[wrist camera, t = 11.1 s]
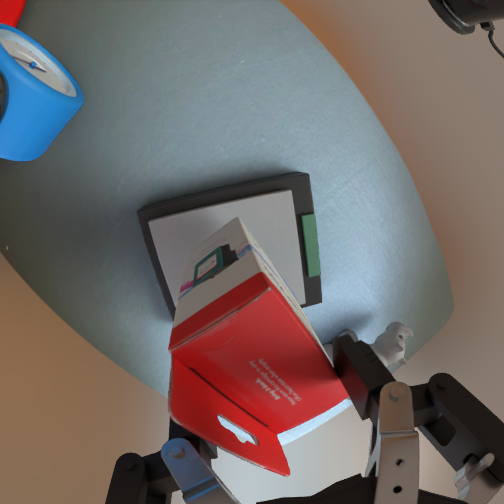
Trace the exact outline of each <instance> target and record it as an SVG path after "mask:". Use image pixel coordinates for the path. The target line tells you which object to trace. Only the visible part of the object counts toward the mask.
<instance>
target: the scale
mask: <svg viewBox="0 0 504 504" xmlns="http://www.w3.org/2000/svg"><path fill="white" fill-rule="evenodd" d="M137 216H138V219H139V223H140V226H141V230H142V233H143V237H144V240H145V243H146V246H147V250H148V253H149V256H150V259H151V262H152V265H153V268H154V271H155V274H156V277H157V280H158V283H159V285H160V288H161V291H162V294H163V296H164V299H165V302H166V305H167V307H168V310H169V312H170V315H171V318H172V320H173V323H174V317H175V312H176V308H177V302H178V297H179V293H180V288H181V282H182V278H183V273H184V269H185V264H186V259H187V255H188V252H189V251H191V250H192V249H193V248H195V247H196V246H197V245H199V244H200V243H201V242H203V241H204V240H205V239H207V238H208V237H209V236H211V235H212V234H213V233H215V232H216V231H217V230H219V229H220V228H221V227H223V226H224V225H225V224H227V223H228V222H230V221H231V220H232V219H234V218H235V217H239V218H240V219H241V220H242V222H243V223H244V224H245V226H246V227H247V228H248V230H249V231H250V233H251V234H252V235H253V237H254V238H255V240H256V241H257V242H258V244H259V245H260V247H261V248H262V249H263V251H264V252H265V254H266V255H267V256H268V258H269V259H270V261H271V262H272V264H273V265H274V267H275V268H276V269H277V271H278V272H279V274H280V275H281V276H282V278H283V279H284V281H285V282H286V284H287V285H288V286H289V288H290V289H291V291H292V292H293V293H294V295H295V297H296V299H297V301H298V303H299V305H300V306H301V308H304V307H308V306H311V305H315V304H318V303H322V292H321V278H320V274H321V271H320V260H319V249H318V239H317V229H316V220H315V214H314V208H313V200H312V193H311V185H310V178H309V174H307V173H303V172H296V173H290V174H284V175H279V176H273V177H268V178H262V179H257V180H252V181H247V182H242V183H237V184H232V185H227V186H223V187H218V188H214V189H209V190H205V191H201V192H196V193H192V194H188V195H184V196H180V197H176V198H172V199H168V200H164V201H160V202H157V203H153V204H149V205H146V206H143V207H142V208H140V209H139V210H138V211H137Z"/></svg>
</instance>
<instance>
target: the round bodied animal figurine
mask: <svg viewBox="0 0 504 504" xmlns="http://www.w3.org/2000/svg"><path fill="white" fill-rule="evenodd" d="M345 334H349V335H350V336H351V337H352V339H353V340H354V341H355V342H357V341H358V338H357V336H356V334H355V333H354V332H353V331H351V330H346V331H343V332H342V333H341V334H340V335H339V336H342V335H345ZM406 335H411V336H412V337H414V335H413V332H412V331H411V330H410V329H408V328H406V327H405V326H404V324H401V323H400V322H393V323H391V324H389V325H388V327H387V328H386V331H385V332H384V333H382V334H381V335H379V336H378V337H377V338H376V340H375V342H374V343H373V344H368V345H370V347H371V348H372V349H373V351H374V352H375V354H376V355H377V356H378V357H379V359H380V360H381V361H382V362H383V364H384V365H385V366H386V368H387V366H388V365H390V364H394V363H396V362H400V363H402V364H407V361H406V360H405V359H404V352H405V344H404V339H406V338H407V336H406ZM339 336H338V337H339ZM323 348H324V350H325V352H326V353H327V355H328V357H329V359H330V360H331V362H332V364H333V345H332V344H325V345H323ZM346 399H348V400H351V399H350V397H347V398H346Z"/></svg>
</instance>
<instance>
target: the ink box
mask: <svg viewBox="0 0 504 504" xmlns="http://www.w3.org/2000/svg"><path fill="white" fill-rule="evenodd" d="M168 350H169V353H170V355H171V359H172V361H171V371H170V381H169V391H168V411H169V414H170V416H171V418H172V420H173V421H174V422H175V423H177V424H178V425H180V426H182V427H184V428H185V429H187V430H189V431H190V432H192V433H194V434H195V435H197V436H199V437H201V438H202V439H204V440H206V441H208V442H210V443H212V444H214V445H215V446H217V447H219V448H220V449H222V450H224V451H226V452H228V453H230V454H232V455H234V456H236V457H238V458H240V459H242V460H245V461H247V462H249V463H251V464H254V465H256V466H258V467H261V468H264V469H267V470H269V471H272V472H275V473H278V474H280V475H283V476H286V477H288V476H289V475H290V469H289V466H288V463H287V459H286V457H285V455H284V452H283V449H282V447H281V444H280V442H279V440H278V438H277V434H279V433H282V432H284V431H287V430H289V429H292V428H294V427H296V426H298V425H300V424H302V423H304V422H307V421H309V420H311V419H313V418H314V417H316V416H318V415H320V414H322V413H324V412H326V411H327V410H329V409H331V408H332V407H334V406H336V405H337V404H339V403H340V402H342V401H343V400H345V399H346V398H347V397H349V395H348V393H347V392H346V390H345V388H344V386H343V384H342V382H341V381H340V379H339V377H338V375H337V373H336V371H335V369H334V366H333V364H332V362H331V360H330V359H329V357H328V355H327V353H326V352H325V350H324V348H323V346H322V344H321V343H320V341H319V339H318V337H317V335H316V333H315V332H314V330H313V328H312V326H311V324H310V323H309V321H308V319H307V317H306V315H305V314H304V312H303V310H302V308H301V306H300V305H299V303H298V301H297V299H296V297H295V295H294V293H293V292H292V291H291V289H290V288H289V286H288V285H287V284H286V282H285V281H284V279H283V278H282V276H281V275H280V274H279V272H278V271H277V269H276V268H275V267H274V265H273V264H272V262H271V261H270V259H269V258H268V256H267V255H266V254H265V252H264V251H263V249H262V248H261V247H260V245H259V244H258V242H257V241H256V240H255V238H254V237H253V235H252V234H251V233H250V231H249V230H248V228H247V227H246V226H245V224H244V223H243V222H242V220H241V219H240V218H239V217H235V218H234V219H232V220H231V221H230V222H228V223H227V224H225V225H224V226H223V227H221V228H220V229H219V230H217V231H216V232H215V233H213V234H212V235H211V236H209V237H208V238H207V239H205V240H204V241H203V242H201V243H200V244H199V245H197V246H196V247H195V248H193V249H192V250H191V251H189V252H188V255H187V259H186V264H185V269H184V273H183V278H182V282H181V288H180V293H179V297H178V302H177V308H176V312H175V317H174V323H173V327H172V332H171V337H170V343H169V347H168ZM218 415H219V416H220V417H222V418H224V419H225V420H227V421H228V422H230V423H231V424H233V425H235V426H236V427H237V428H239V429H241V430H242V431H244V432H245V433H247V434H249V435H250V436H251V437H252V438H253V440H254V441H255V445H254V444H253V443H251V442H249V441H246V442H245V443H242V442H240V441H239V440H238V438H237V437H236V436H235V434H234V433H233V432H231V431H230V430H229V429H226V428H225V427H223V426H222V425H221V423H220V422H219V420H218V417H217V416H218Z"/></svg>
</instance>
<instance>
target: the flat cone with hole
mask: <svg viewBox="0 0 504 504" xmlns="http://www.w3.org/2000/svg"><path fill="white" fill-rule="evenodd" d="M25 4H26V0H0V23H3V24H6V25H9V26H12V27H14V28H16V26H17V24H18V21H19V19H20V17H21V15H22V13H23V10H24V7H25Z"/></svg>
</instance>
